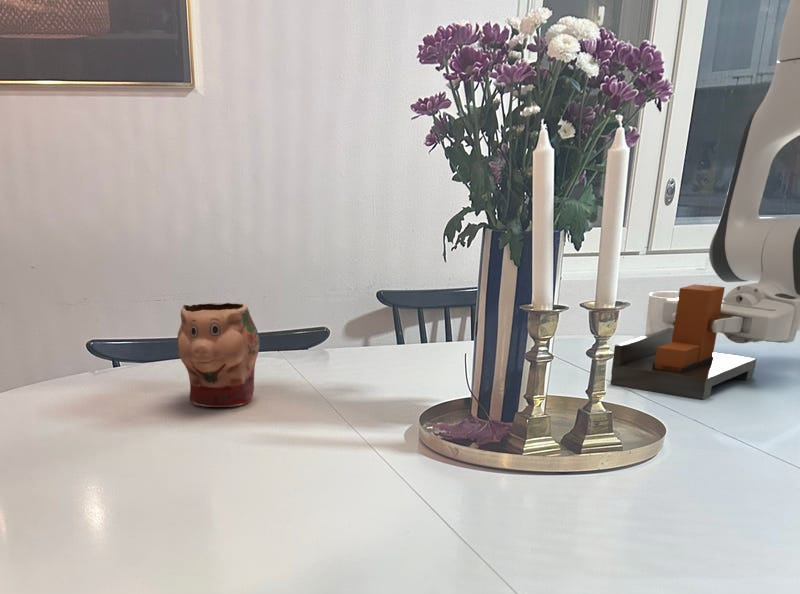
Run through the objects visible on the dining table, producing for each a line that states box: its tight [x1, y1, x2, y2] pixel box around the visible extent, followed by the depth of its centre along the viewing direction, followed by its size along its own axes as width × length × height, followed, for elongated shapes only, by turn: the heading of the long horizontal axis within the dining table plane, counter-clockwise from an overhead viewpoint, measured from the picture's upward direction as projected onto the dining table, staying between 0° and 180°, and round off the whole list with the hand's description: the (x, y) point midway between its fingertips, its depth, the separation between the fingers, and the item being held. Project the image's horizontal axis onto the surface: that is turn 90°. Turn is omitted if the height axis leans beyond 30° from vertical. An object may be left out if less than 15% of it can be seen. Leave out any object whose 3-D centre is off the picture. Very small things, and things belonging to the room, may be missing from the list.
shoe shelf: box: [610, 328, 757, 400], centre depth 146 cm, size 15×18×6 cm
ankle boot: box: [652, 283, 726, 373], centre depth 141 cm, size 5×10×11 cm, turn 135°
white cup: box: [644, 291, 679, 336], centre depth 162 cm, size 8×8×10 cm
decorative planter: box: [176, 302, 260, 408], centre depth 141 cm, size 20×12×14 cm, turn 179°
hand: (692, 323), depth 142 cm, fingers closed on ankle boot, 5 cm apart
